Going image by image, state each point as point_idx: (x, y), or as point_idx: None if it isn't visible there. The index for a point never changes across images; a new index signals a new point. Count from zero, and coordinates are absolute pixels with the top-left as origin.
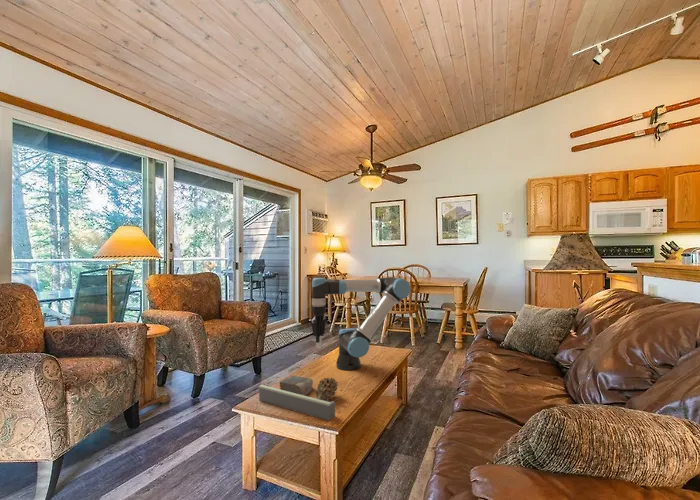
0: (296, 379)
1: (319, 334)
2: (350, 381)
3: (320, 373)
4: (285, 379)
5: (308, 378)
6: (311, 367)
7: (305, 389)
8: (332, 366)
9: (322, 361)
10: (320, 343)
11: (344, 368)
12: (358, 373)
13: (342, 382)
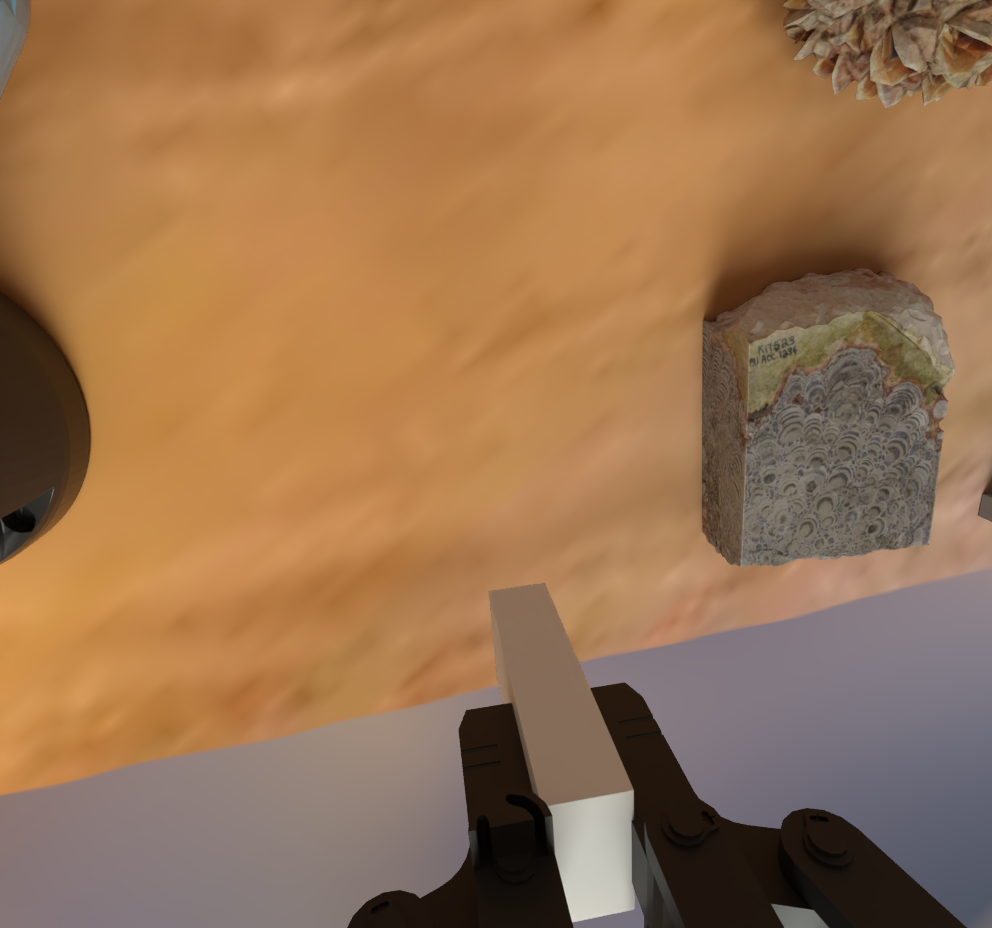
0: (827, 465)
1: (698, 870)
2: (320, 63)
3: (348, 523)
4: (860, 549)
5: (758, 381)
6: (276, 701)
7: (886, 277)
8: (84, 564)
9: (49, 745)
10: (556, 646)
11: (59, 371)
12: (12, 131)
13: (407, 140)
